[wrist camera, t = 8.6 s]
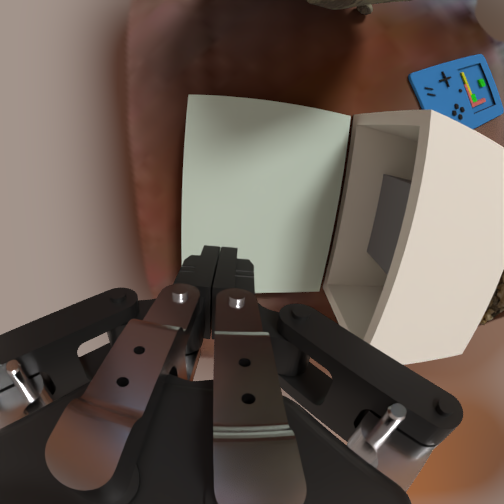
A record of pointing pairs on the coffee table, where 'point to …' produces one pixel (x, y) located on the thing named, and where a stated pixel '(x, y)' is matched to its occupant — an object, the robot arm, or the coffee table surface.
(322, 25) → the coffee table surface
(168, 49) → the coffee table surface
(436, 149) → the case
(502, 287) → the mineral specimen
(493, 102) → the handheld gaming device
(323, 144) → the door
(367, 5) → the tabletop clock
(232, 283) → the robot arm
